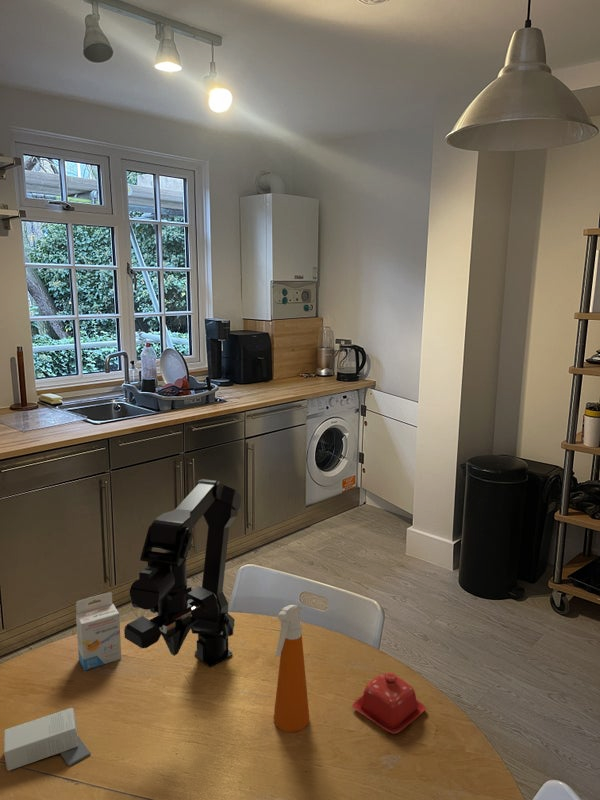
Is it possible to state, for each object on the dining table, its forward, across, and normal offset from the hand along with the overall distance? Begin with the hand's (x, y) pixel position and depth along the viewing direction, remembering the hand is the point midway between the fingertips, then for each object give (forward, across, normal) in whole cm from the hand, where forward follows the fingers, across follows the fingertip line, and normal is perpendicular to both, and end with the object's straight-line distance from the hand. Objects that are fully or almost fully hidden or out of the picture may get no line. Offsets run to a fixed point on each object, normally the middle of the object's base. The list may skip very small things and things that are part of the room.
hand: (174, 654), depth 118 cm
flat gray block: (+13, +18, -8) cm, 24 cm away
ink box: (+13, 0, -26) cm, 29 cm away
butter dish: (+14, -27, +33) cm, 45 cm away
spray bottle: (+13, -11, +20) cm, 26 cm away
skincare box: (+10, +16, -9) cm, 21 cm away
